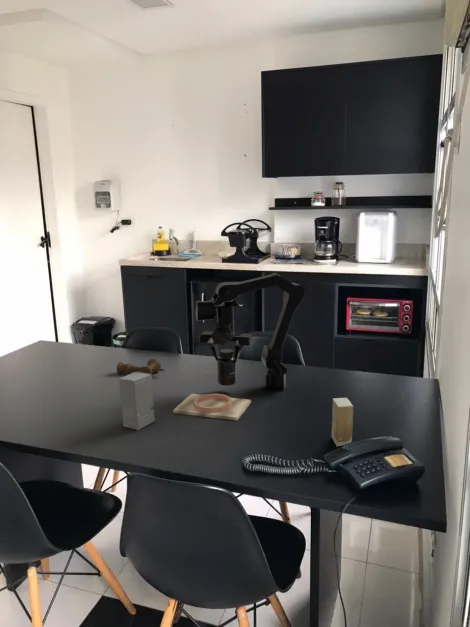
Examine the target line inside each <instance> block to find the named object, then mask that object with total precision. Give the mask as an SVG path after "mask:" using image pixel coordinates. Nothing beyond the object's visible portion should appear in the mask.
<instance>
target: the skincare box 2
mask: <svg viewBox="0 0 470 627" xmlns="http://www.w3.org/2000/svg"><path fill="white" fill-rule="evenodd" d="M331 411H332V415H331V416H332V417H331V438H332V440H333V442H334V444H335V446H336V448H337V447H338V446H342V445H345V444H348V443H351V442H352V443H353V426H354V425H353V424H354V423H353V420H354V405H353V404H352V403H351V401H350V400H349V399H348V397H337V398H336V397H335V398H332V410H331ZM338 448H339V447H338Z"/></svg>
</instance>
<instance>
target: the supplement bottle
mask: <svg viewBox="0 0 470 627" xmlns="http://www.w3.org/2000/svg"><path fill="white" fill-rule="evenodd" d="M216 362H217V363H216V367H217V368H216V369H217V370H216V371H217V375H216V376H217V379H216V380H217V384H219V385H220V386H225V387H226V386H233V385H235V384H236V383H237V362H235V353H234V350H233V349H229V348H228V349H227V348H225V349H220V350H219V358H218V360H217V361H216Z"/></svg>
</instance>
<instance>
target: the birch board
mask: <svg viewBox="0 0 470 627" xmlns="http://www.w3.org/2000/svg"><path fill="white" fill-rule="evenodd" d="M202 395H203V394H199V393H190V394H189V395H188V396H187V397H186V398H185V399H184V400H182V402H181V403H179V404H178V405H177V406H176V407H175V408H174V409H173V412H172V413H173V414H179V415H189V416H197V417H204V418H205V417H206V418H212V419H213V418H214V419H221V420H229V421H238V420H239V419H240V418H241V416H242V415H243V414H244V412H245V411H246V410H247V408H248V407H249V406H250V404H251V403H252V400H251V399H247V398H238V397H237V398H235V397H230V398H231V400H232V405H231V407H230V408H229V409H227V410H224V411H221V412H213V413H209V412H201V411H199V410H197V409H195V407H194V400H195V399H196V398H197V397H199V396H202ZM226 403H227V401H224V400H222V399H206V400H203V401H201V402H199V403H198V404H199V405H202V406H206V407H217V406H222V405H224V404H226Z"/></svg>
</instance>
